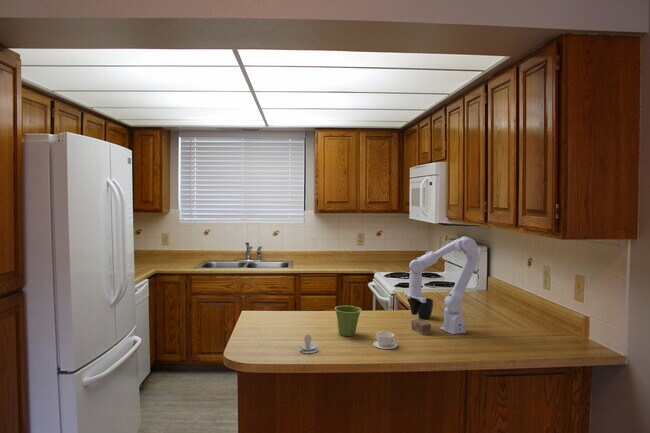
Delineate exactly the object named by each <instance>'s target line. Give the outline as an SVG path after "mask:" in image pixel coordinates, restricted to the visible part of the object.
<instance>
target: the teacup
mask: <svg viewBox="0 0 650 433" xmlns="http://www.w3.org/2000/svg"><path fill="white" fill-rule="evenodd" d="M375 334H376V335H375V336H376V341H373V342H372V345H373V346H374V347H375V348H378V349H383V350H391V349H396V348H398V344H397V341H396V338H395V334H394V333H392V332H388V331H378V332H376V333H375Z"/></svg>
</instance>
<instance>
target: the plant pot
mask: <svg viewBox="0 0 650 433" xmlns="http://www.w3.org/2000/svg"><path fill="white" fill-rule="evenodd" d="M334 311H335V314H336V318H337V320H336V322H337V329H338V334H339V335H341V336H346V337H352V336H355V335H356V331H357V326H358V322H359V317H360V314H361V312H362V308H361V307H357V306H355V305H354V306H353V305H339V306H335V307H334Z"/></svg>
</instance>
